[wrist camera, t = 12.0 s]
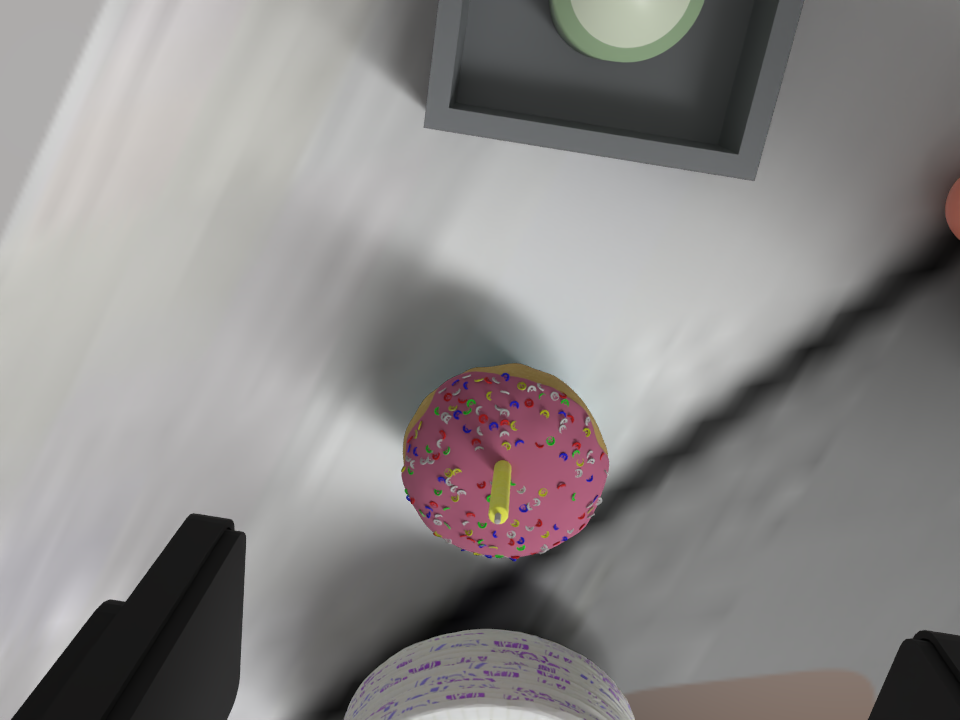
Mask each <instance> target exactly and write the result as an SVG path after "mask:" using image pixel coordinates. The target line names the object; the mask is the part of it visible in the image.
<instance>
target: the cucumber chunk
mask: <svg viewBox="0 0 960 720" xmlns="http://www.w3.org/2000/svg"><path fill="white" fill-rule="evenodd" d="M703 4H704V0H549V8H550V14H551V17H552V21H553V23H554V26H555V28H556V30H557V32H558V33H559V35H560V36H561V38H562V39H563V40H564V41H565V42H566V44H567V45H568V46H570V47H571V48H572V49H573V50H575V51H576V52H578V53H580V54H582V55H584V56H587V57H589V58H593V59H599V60H607V61H615V62H637V61H642V60H646V59H649V58H652V57H655V56H657V55H659V54H661V53H663V52H665V51H666V50H668V49H669V48H671V47H672V46H673V45H675V44H676V43H677V42H678V41H679V40H680V39H681V38H682V37H683V36H684V35H685V34H686V33H687V32H688V30H689V29H690V28H691V26H692V25H693V24H694V22H695V20H696V19H697V17H698V15H699V13H700V11H701V8H702V6H703Z"/></svg>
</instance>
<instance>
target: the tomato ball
mask: <svg viewBox="0 0 960 720" xmlns="http://www.w3.org/2000/svg"><path fill="white" fill-rule="evenodd" d="M945 215H946V220H947V223H948V225H949V228H950V229H951V231H952V232H953V234H954V235H955V236H956V237H957V238H958V239H959V240H960V177H959V178H958V180H957V181H956V182H955V183H954V185H953V186H952V188H951V189H950V191H949V194H948V196H947V200H946V205H945Z"/></svg>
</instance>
